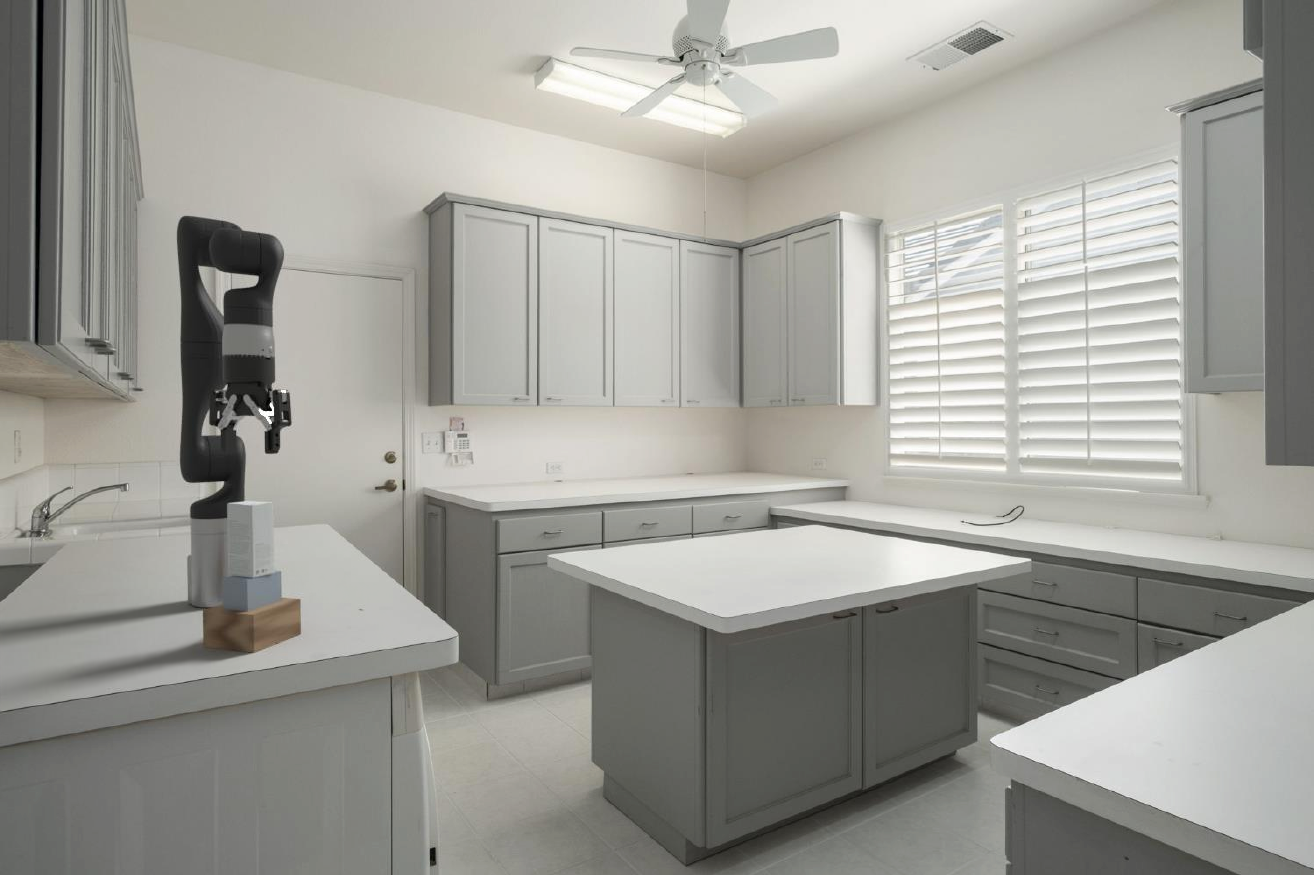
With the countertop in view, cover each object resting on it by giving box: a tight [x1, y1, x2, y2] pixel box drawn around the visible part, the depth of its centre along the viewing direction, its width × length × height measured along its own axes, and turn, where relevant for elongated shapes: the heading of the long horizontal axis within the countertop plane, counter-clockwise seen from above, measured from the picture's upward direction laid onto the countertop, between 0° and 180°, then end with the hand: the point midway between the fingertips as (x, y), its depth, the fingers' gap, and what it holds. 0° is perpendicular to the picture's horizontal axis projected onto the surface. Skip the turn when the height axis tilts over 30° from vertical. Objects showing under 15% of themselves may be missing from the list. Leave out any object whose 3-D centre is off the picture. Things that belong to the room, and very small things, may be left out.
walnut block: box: [202, 597, 302, 653], centre depth 120 cm, size 10×10×6 cm
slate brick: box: [222, 570, 283, 611], centre depth 120 cm, size 5×7×5 cm
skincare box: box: [227, 500, 276, 578], centre depth 120 cm, size 6×4×12 cm
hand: (250, 453), depth 119 cm, fingers open, 8 cm apart
